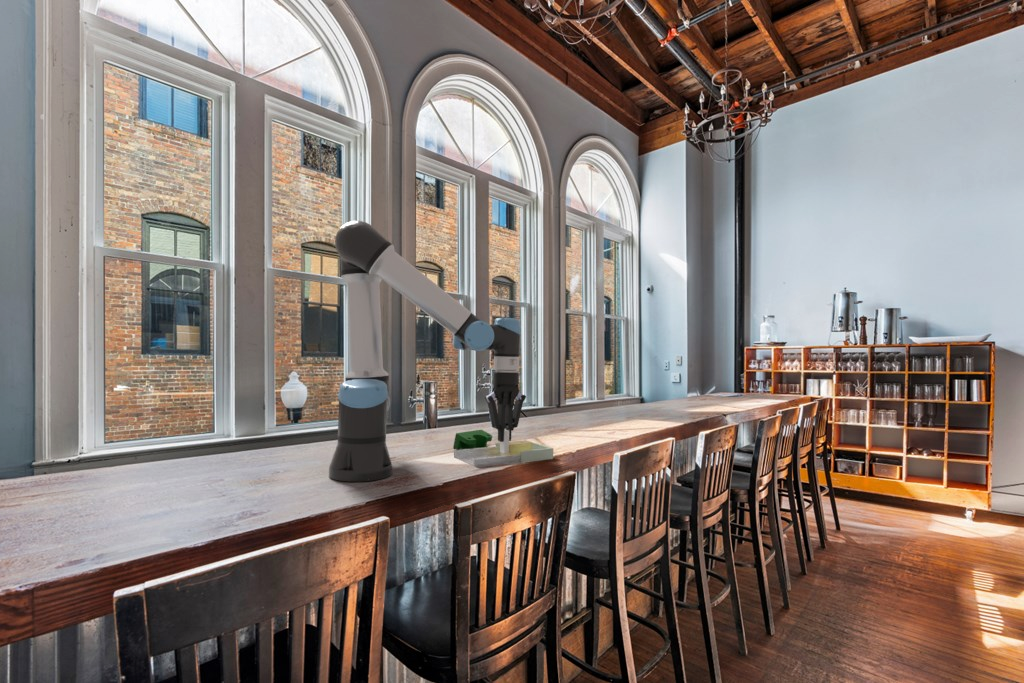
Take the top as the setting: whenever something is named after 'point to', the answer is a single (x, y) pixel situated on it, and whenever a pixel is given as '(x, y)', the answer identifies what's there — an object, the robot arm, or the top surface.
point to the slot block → (485, 457)
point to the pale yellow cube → (525, 445)
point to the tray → (533, 452)
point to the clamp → (471, 439)
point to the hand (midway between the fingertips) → (504, 452)
